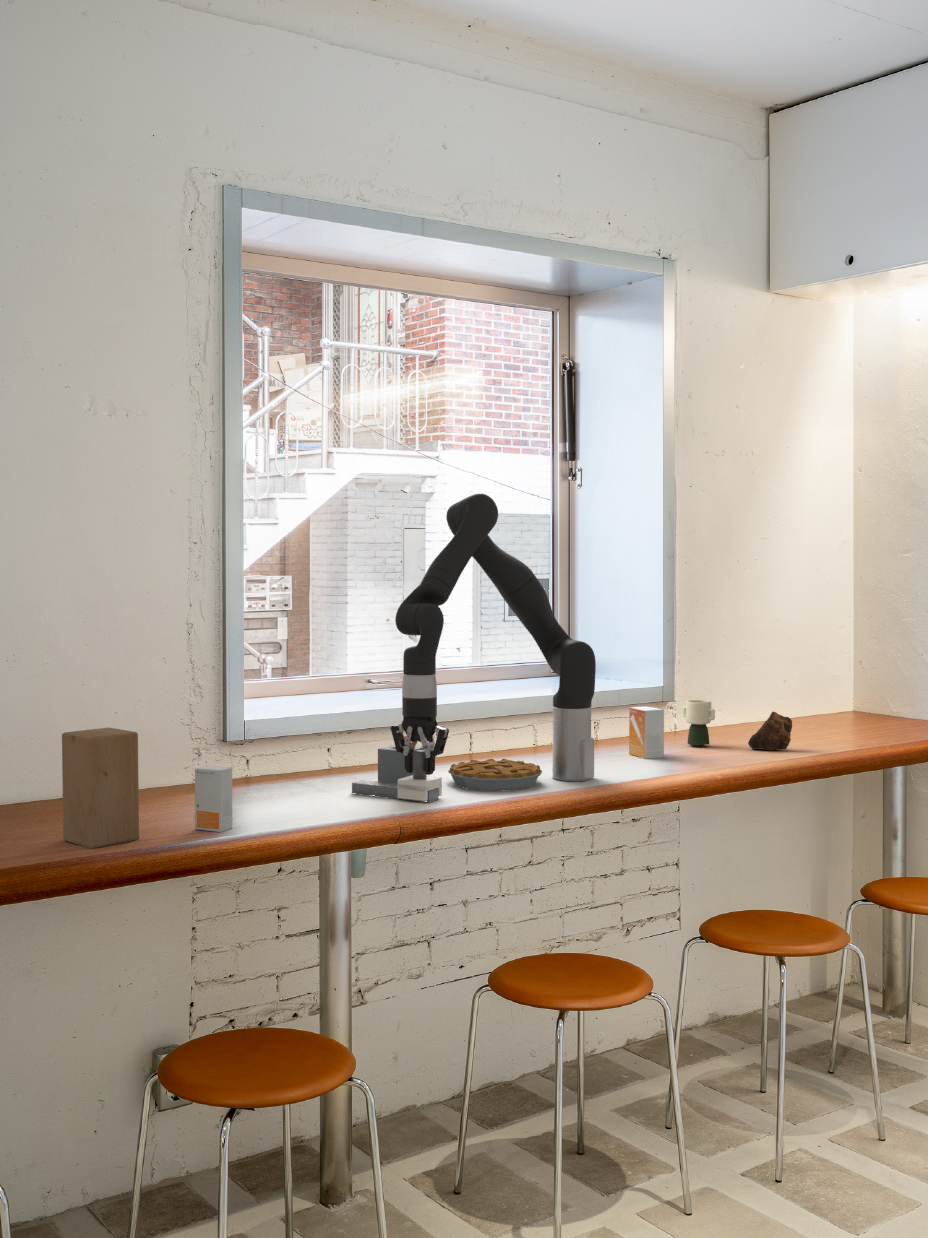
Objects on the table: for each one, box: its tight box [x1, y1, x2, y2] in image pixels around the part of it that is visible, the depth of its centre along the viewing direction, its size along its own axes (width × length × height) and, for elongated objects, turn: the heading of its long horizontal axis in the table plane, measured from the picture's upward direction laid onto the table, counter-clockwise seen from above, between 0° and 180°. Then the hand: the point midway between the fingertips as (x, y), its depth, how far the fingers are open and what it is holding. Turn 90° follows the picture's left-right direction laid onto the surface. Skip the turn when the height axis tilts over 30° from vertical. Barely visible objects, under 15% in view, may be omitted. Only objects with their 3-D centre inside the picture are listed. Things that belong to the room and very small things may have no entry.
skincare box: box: [194, 764, 233, 833], centre depth 217 cm, size 6×4×12 cm
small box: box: [628, 705, 665, 760], centre depth 306 cm, size 8×6×13 cm
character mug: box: [682, 699, 716, 747], centre depth 323 cm, size 11×7×13 cm, turn 42°
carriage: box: [397, 750, 443, 801], centre depth 246 cm, size 7×7×10 cm
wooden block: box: [61, 727, 140, 849], centre depth 208 cm, size 10×10×20 cm
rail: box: [351, 779, 439, 803], centre depth 249 cm, size 20×4×2 cm, turn 61°
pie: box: [447, 758, 543, 792], centre depth 265 cm, size 22×22×5 cm
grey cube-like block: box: [377, 744, 424, 784], centre depth 261 cm, size 8×8×9 cm
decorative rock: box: [747, 711, 793, 751], centre depth 316 cm, size 12×6×11 cm, turn 80°
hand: (419, 773), depth 246 cm, fingers open, 4 cm apart
